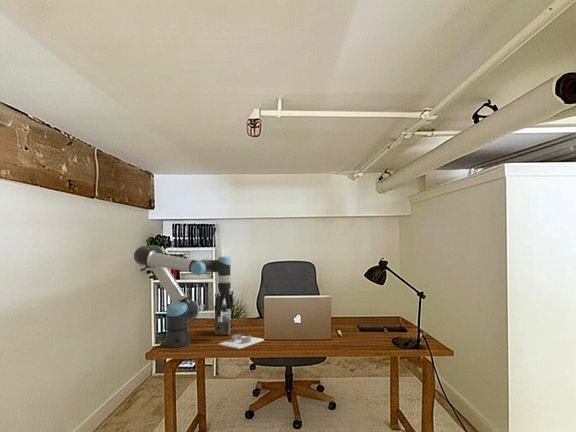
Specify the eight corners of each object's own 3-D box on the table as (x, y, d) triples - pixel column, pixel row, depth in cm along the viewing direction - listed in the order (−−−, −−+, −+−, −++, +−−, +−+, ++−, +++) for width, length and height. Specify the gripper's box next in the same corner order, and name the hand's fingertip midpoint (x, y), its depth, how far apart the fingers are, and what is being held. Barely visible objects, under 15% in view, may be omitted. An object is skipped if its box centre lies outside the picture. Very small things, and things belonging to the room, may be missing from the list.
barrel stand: (239, 348, 239) (238, 342, 239) (218, 345, 248) (218, 338, 248) (263, 340, 257) (263, 333, 257) (243, 337, 266) (243, 330, 266)
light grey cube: (224, 323, 256) (224, 313, 256) (216, 321, 260) (216, 312, 260) (232, 321, 261) (232, 311, 261) (224, 320, 265) (224, 311, 265)
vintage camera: (235, 331, 285) (234, 300, 287) (229, 335, 270) (228, 303, 271) (220, 331, 286) (219, 301, 288) (214, 336, 271) (213, 303, 272)
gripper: (217, 284, 251) (217, 324, 250) (239, 281, 267) (239, 318, 266) (208, 283, 256) (208, 322, 255) (230, 280, 271) (230, 317, 271)
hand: (224, 320), depth 260 cm, fingers closed on light grey cube, 6 cm apart
